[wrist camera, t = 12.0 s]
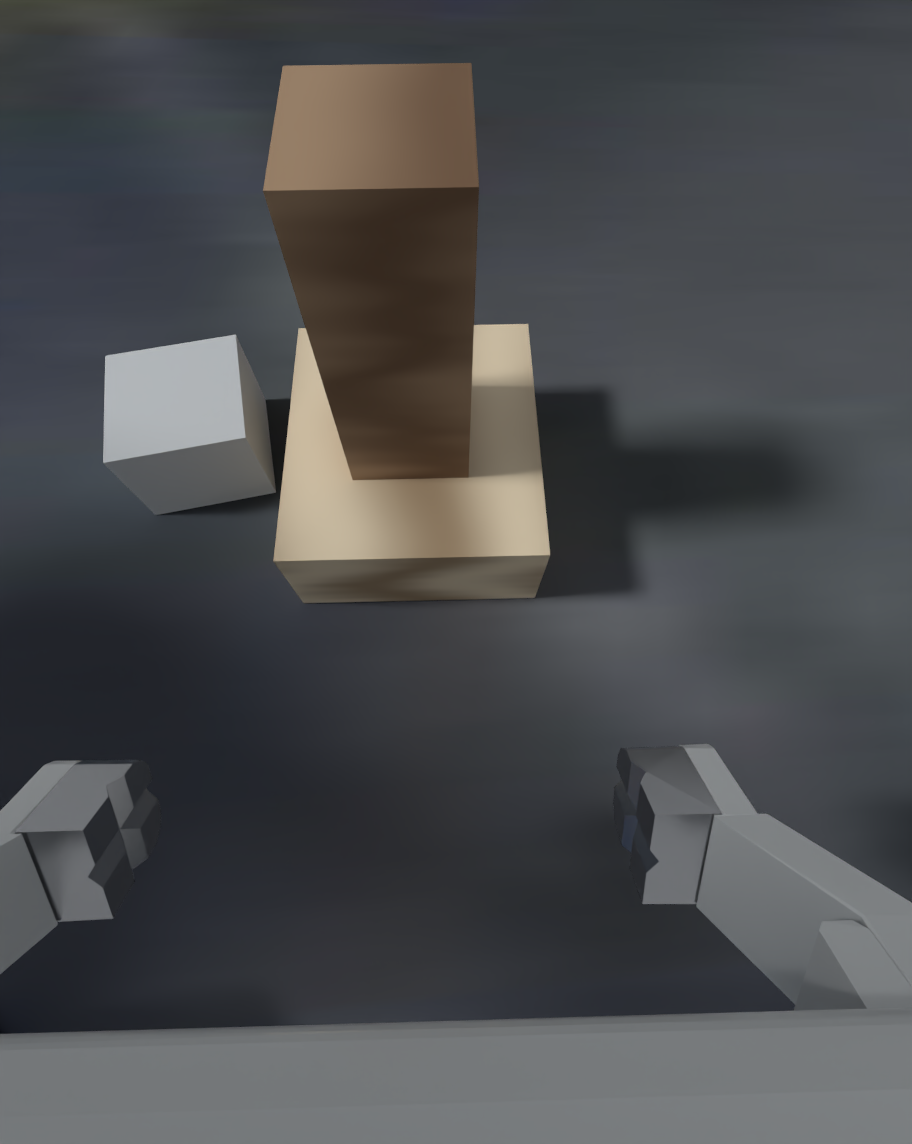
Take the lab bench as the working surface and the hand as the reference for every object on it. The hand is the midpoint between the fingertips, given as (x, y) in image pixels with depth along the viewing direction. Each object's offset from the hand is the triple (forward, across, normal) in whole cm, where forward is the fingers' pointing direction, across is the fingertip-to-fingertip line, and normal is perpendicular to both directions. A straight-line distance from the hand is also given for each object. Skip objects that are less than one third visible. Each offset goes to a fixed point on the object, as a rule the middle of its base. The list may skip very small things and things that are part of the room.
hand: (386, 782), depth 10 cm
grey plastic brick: (+18, +9, -2) cm, 20 cm away
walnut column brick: (+13, 0, -4) cm, 14 cm away
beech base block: (+16, 0, -1) cm, 16 cm away
